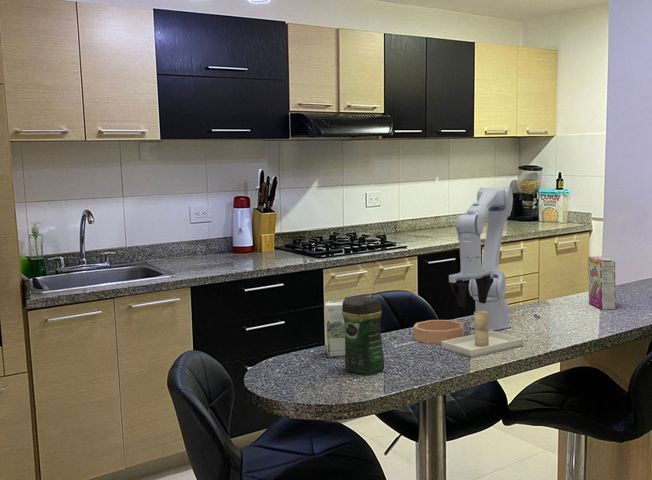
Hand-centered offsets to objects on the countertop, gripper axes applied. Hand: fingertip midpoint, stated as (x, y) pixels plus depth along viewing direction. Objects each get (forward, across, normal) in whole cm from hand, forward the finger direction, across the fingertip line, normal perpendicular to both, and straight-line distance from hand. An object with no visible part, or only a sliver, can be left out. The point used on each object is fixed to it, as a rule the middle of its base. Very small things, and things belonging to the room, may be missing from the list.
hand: (472, 304), depth 182 cm
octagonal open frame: (+10, +6, -8) cm, 14 cm away
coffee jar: (+10, +40, +6) cm, 42 cm away
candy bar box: (+10, -60, -5) cm, 61 cm away
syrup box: (+10, +38, -11) cm, 41 cm away
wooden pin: (+9, +4, +8) cm, 13 cm away
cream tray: (+10, +4, +8) cm, 13 cm away
